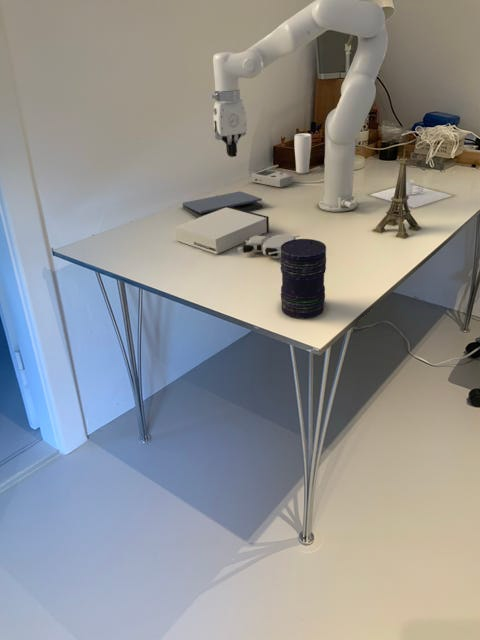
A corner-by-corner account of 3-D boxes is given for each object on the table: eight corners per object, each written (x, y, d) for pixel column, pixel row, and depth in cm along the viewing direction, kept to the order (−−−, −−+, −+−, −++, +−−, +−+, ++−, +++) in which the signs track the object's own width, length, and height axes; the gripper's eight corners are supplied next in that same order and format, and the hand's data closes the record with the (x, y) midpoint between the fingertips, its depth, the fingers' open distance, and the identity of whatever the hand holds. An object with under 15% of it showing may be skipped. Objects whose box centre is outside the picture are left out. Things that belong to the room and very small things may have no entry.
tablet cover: (261, 200, 185) (261, 198, 185) (200, 213, 176) (200, 211, 176) (240, 193, 198) (240, 191, 198) (182, 205, 189) (182, 202, 189)
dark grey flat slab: (262, 207, 186) (262, 204, 186) (201, 220, 178) (201, 217, 177) (240, 196, 199) (240, 193, 198) (182, 208, 190) (182, 204, 189)
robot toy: (235, 260, 150) (284, 264, 143) (233, 244, 148) (283, 248, 141) (256, 244, 159) (303, 248, 152) (254, 229, 157) (302, 233, 150)
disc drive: (269, 232, 166) (268, 216, 163) (217, 255, 152) (216, 238, 149) (228, 220, 176) (227, 205, 174) (176, 241, 163) (174, 225, 160)
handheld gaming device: (280, 188, 205) (280, 178, 203) (251, 182, 214) (250, 173, 212) (294, 183, 211) (294, 173, 209) (265, 178, 219) (265, 168, 218)
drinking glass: (311, 174, 221) (312, 136, 213) (294, 175, 221) (294, 137, 214) (309, 170, 227) (310, 132, 219) (293, 170, 227) (293, 133, 219)
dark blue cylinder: (307, 324, 116) (308, 260, 109) (272, 310, 122) (270, 249, 115) (333, 306, 123) (335, 244, 115) (298, 294, 129) (298, 235, 121)
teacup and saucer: (426, 193, 192) (427, 181, 190) (411, 197, 188) (412, 186, 186) (406, 188, 198) (408, 176, 196) (391, 192, 194) (392, 181, 192)
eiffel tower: (404, 238, 156) (414, 150, 143) (372, 231, 162) (378, 145, 150) (421, 228, 162) (432, 142, 150) (389, 221, 169) (397, 138, 156)
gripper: (211, 100, 163) (216, 162, 172) (254, 94, 169) (257, 154, 178) (201, 98, 169) (206, 157, 178) (243, 92, 174) (246, 150, 184)
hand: (232, 155), depth 178 cm, fingers closed
